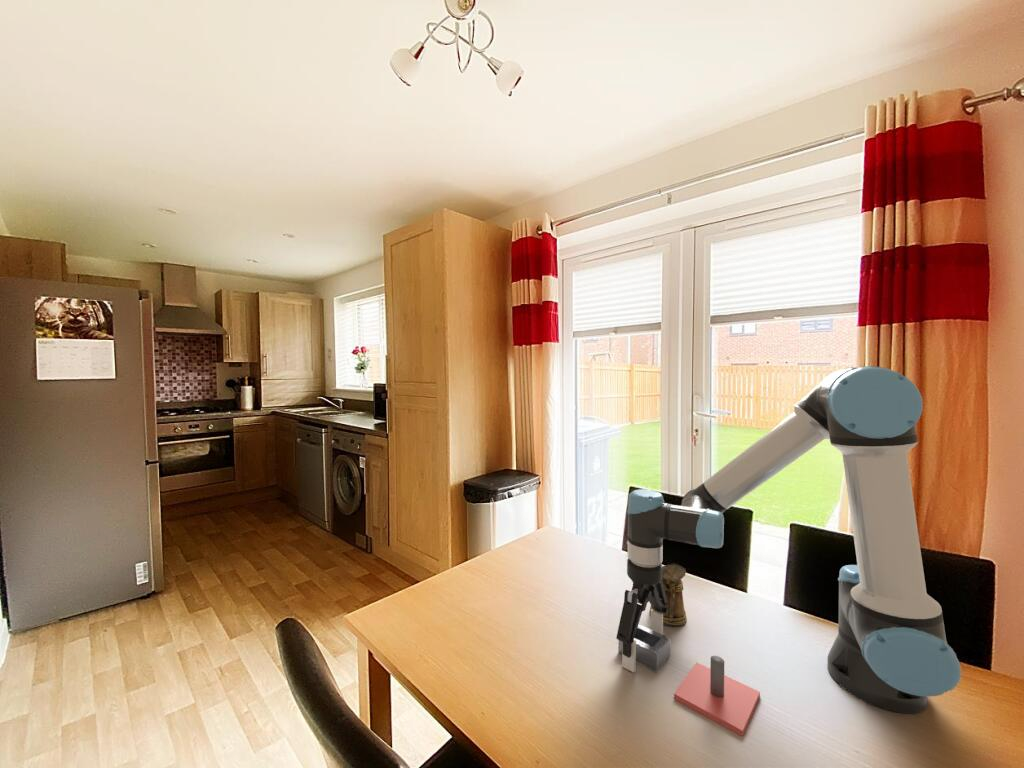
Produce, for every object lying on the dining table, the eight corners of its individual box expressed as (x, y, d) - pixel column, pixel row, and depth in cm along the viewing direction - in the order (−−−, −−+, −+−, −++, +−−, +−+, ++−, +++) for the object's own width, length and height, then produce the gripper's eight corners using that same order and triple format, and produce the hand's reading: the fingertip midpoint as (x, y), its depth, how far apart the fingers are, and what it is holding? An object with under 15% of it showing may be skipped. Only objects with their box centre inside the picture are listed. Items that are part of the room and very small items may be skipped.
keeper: (759, 696, 80) (760, 659, 80) (742, 736, 71) (743, 694, 71) (696, 666, 88) (696, 632, 88) (674, 698, 79) (674, 660, 79)
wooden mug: (653, 635, 99) (654, 561, 98) (647, 604, 112) (648, 539, 111) (693, 640, 97) (694, 565, 96) (682, 608, 110) (683, 542, 109)
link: (670, 655, 91) (670, 638, 91) (656, 672, 86) (656, 653, 86) (633, 637, 98) (633, 621, 98) (618, 652, 93) (618, 635, 92)
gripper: (652, 539, 103) (651, 621, 104) (600, 574, 85) (599, 673, 86) (682, 548, 98) (681, 634, 98) (633, 587, 80) (632, 693, 80)
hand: (643, 653), depth 92 cm, fingers open, 13 cm apart
